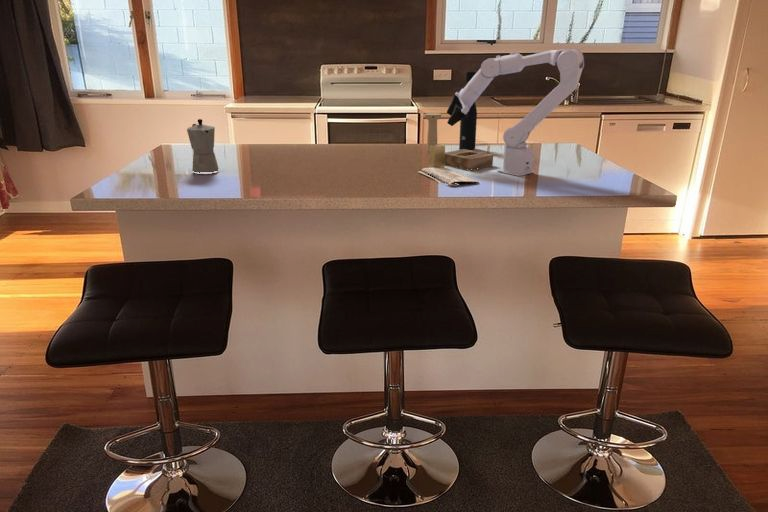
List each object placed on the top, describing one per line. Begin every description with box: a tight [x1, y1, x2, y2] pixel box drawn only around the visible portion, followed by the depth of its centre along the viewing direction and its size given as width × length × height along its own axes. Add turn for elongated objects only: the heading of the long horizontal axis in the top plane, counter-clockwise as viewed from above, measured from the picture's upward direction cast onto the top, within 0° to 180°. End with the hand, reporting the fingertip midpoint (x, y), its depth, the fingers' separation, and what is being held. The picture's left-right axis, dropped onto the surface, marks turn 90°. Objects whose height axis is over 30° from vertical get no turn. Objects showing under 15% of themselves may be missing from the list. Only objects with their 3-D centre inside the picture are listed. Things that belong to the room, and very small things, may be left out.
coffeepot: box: [186, 118, 220, 173], centre depth 201 cm, size 15×9×18 cm, turn 33°
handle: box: [424, 112, 442, 154], centre depth 231 cm, size 5×6×15 cm
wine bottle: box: [458, 71, 478, 151], centre depth 235 cm, size 6×6×30 cm
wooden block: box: [428, 144, 446, 168], centre depth 206 cm, size 2×5×8 cm, turn 130°
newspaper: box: [417, 167, 480, 187], centre depth 194 cm, size 23×12×2 cm, turn 20°
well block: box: [444, 149, 494, 171], centre depth 212 cm, size 14×12×4 cm
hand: (449, 119), depth 207 cm, fingers open, 7 cm apart
